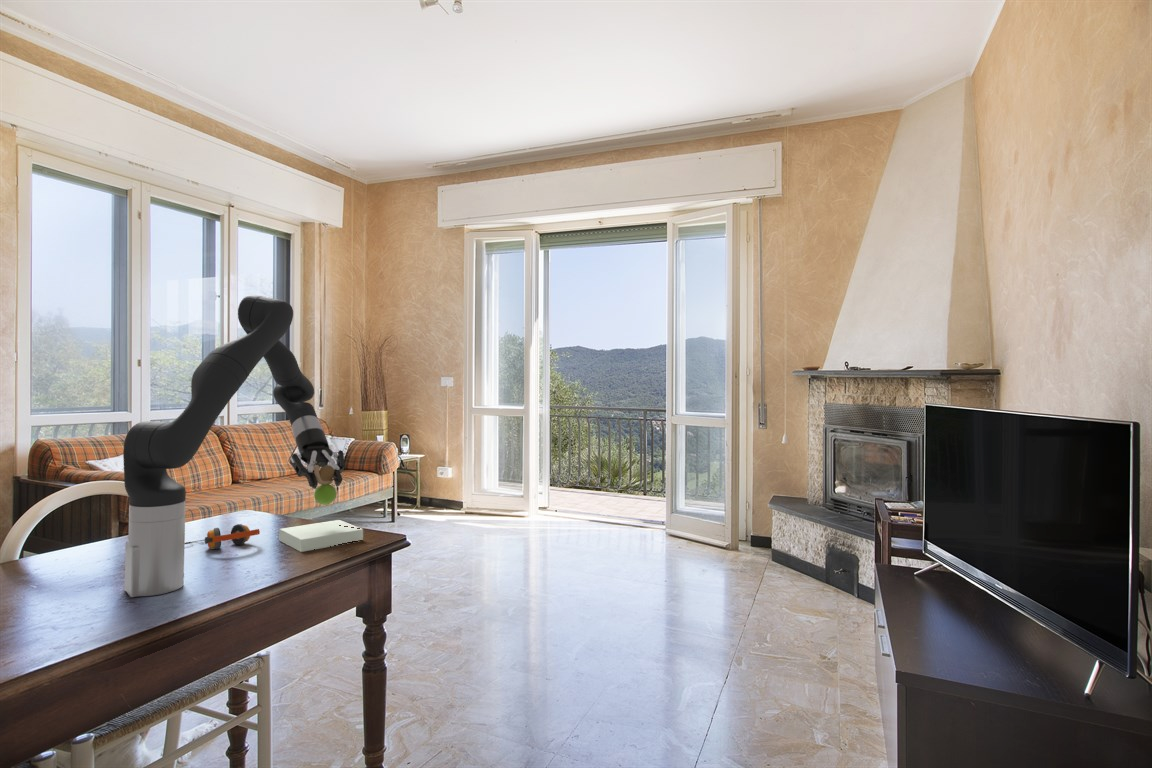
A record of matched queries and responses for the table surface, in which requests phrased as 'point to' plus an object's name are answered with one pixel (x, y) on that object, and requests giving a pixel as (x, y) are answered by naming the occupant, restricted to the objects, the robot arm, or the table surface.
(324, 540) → the sage board
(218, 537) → the headphones
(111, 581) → the table surface
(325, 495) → the snail figurine
